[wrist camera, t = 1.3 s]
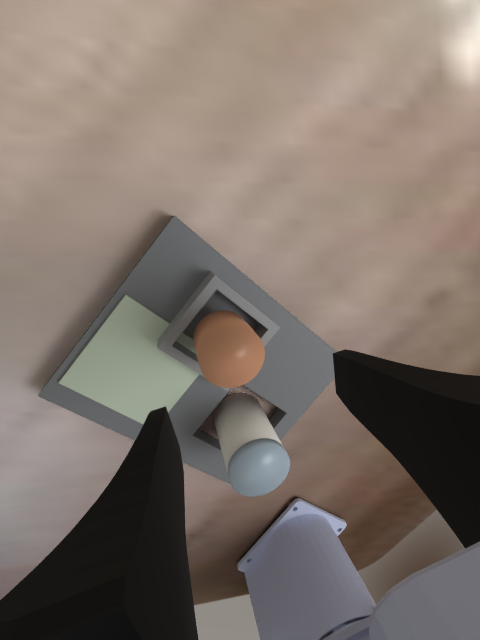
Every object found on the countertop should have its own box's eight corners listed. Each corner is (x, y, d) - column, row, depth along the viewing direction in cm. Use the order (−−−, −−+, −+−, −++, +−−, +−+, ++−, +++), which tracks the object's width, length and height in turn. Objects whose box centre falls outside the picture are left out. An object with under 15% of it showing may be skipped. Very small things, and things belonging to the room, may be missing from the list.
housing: (235, 476, 26) (244, 504, 23) (44, 386, 20) (27, 410, 17) (339, 355, 25) (360, 370, 22) (173, 215, 18) (175, 214, 16)
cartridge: (240, 442, 25) (262, 504, 20) (203, 422, 24) (216, 483, 18) (270, 407, 25) (301, 459, 19) (234, 384, 23) (258, 434, 18)
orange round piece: (225, 373, 19) (236, 398, 17) (181, 344, 18) (185, 367, 15) (260, 331, 19) (277, 349, 16) (217, 298, 18) (228, 312, 15)
